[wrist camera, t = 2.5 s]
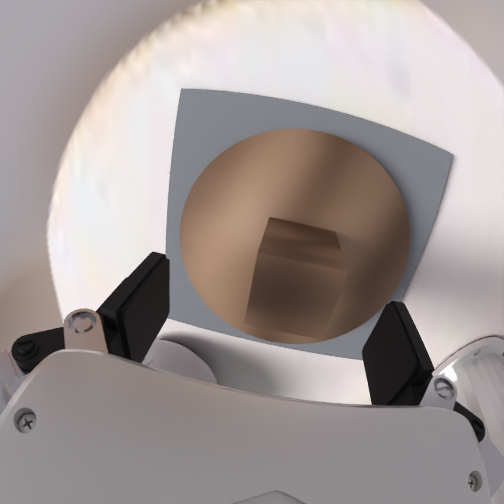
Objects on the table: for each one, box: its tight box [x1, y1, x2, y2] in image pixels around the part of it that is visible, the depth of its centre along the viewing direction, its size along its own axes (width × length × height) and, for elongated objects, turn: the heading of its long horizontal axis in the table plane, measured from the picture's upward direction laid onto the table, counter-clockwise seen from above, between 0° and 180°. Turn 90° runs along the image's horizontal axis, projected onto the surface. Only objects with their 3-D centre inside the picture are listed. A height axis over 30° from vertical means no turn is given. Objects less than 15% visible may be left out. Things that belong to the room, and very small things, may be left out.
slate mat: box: [166, 89, 453, 360], centre depth 18 cm, size 18×18×1 cm
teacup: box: [142, 339, 218, 385], centre depth 23 cm, size 14×11×8 cm
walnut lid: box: [180, 129, 410, 344], centre depth 15 cm, size 15×15×6 cm
